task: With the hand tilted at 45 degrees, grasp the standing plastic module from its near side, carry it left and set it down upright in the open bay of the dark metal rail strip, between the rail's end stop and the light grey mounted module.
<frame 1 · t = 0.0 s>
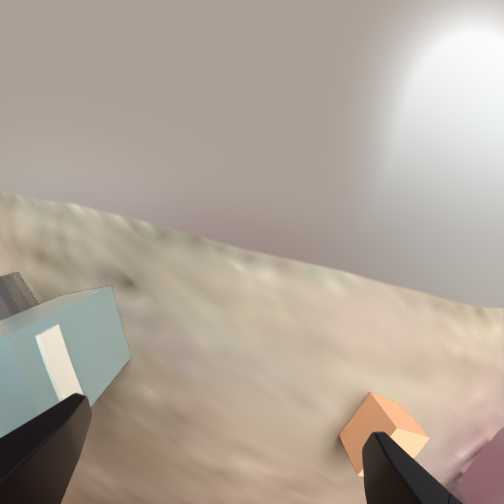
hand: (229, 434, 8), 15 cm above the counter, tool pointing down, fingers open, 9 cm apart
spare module: (370, 419, 25), on the counter
module: (95, 325, 24), on the counter
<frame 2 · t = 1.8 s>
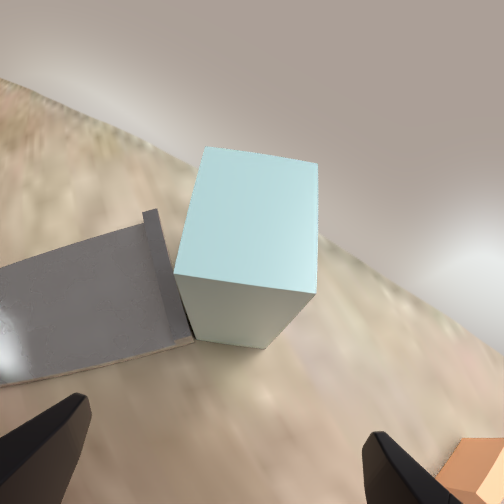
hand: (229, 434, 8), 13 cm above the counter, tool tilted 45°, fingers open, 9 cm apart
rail: (31, 320, 21), on the counter
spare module: (457, 470, 19), on the counter
module: (235, 305, 24), on the counter
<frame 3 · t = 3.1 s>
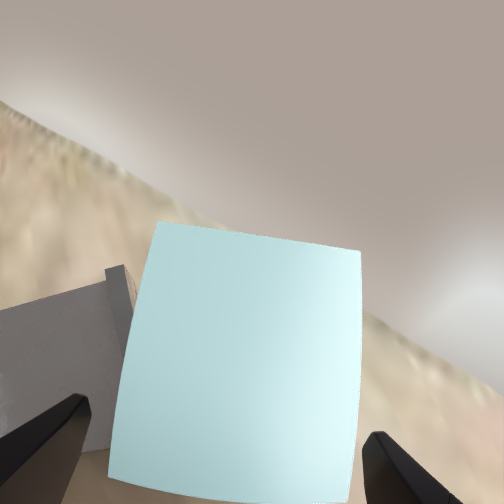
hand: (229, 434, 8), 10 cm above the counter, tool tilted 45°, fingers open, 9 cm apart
module: (227, 388, 18), on the counter
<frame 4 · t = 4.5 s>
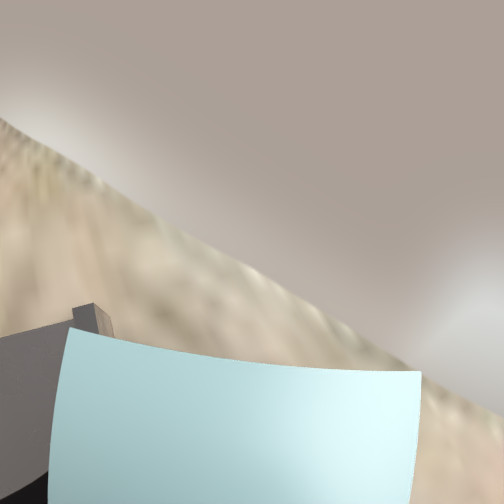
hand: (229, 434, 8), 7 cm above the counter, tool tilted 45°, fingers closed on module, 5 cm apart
module: (220, 444, 14), on the counter, touching gripper
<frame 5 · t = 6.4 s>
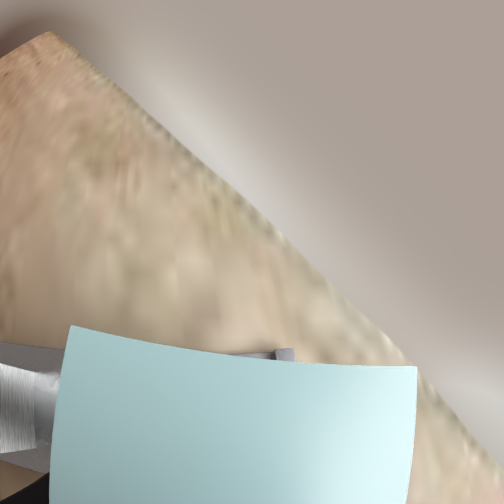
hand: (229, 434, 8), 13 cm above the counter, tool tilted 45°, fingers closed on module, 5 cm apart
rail: (109, 420, 19), on the counter
module: (221, 444, 14), point 6 cm above the counter, touching gripper
when the fingers open (9 cm above the counter, at t = 8.1 s): module stays where it is, resting on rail.
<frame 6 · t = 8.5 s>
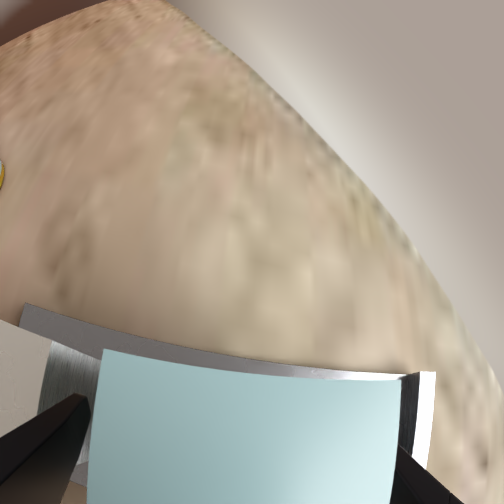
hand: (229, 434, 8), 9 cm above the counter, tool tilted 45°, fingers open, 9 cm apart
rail: (203, 437, 16), on the counter
module: (223, 443, 15), point 1 cm above the counter, touching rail
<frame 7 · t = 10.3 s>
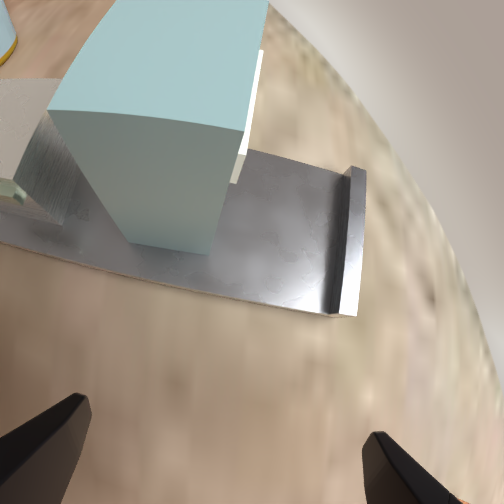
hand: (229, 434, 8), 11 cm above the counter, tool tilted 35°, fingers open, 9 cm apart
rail: (161, 206, 21), on the counter
module: (177, 202, 20), point 1 cm above the counter, touching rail
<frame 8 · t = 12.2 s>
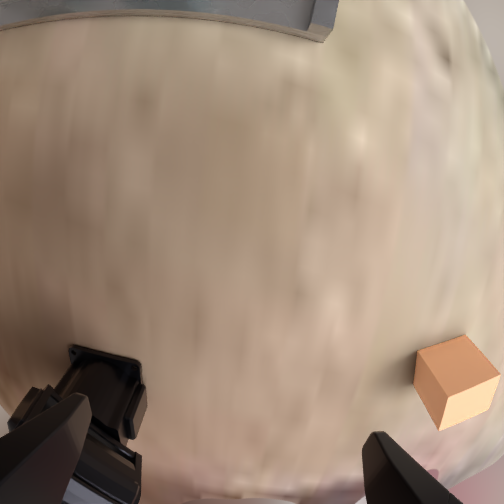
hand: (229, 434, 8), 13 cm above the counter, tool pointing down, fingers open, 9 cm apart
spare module: (439, 360, 24), on the counter
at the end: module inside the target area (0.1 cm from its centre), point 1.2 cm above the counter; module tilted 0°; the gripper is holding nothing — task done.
